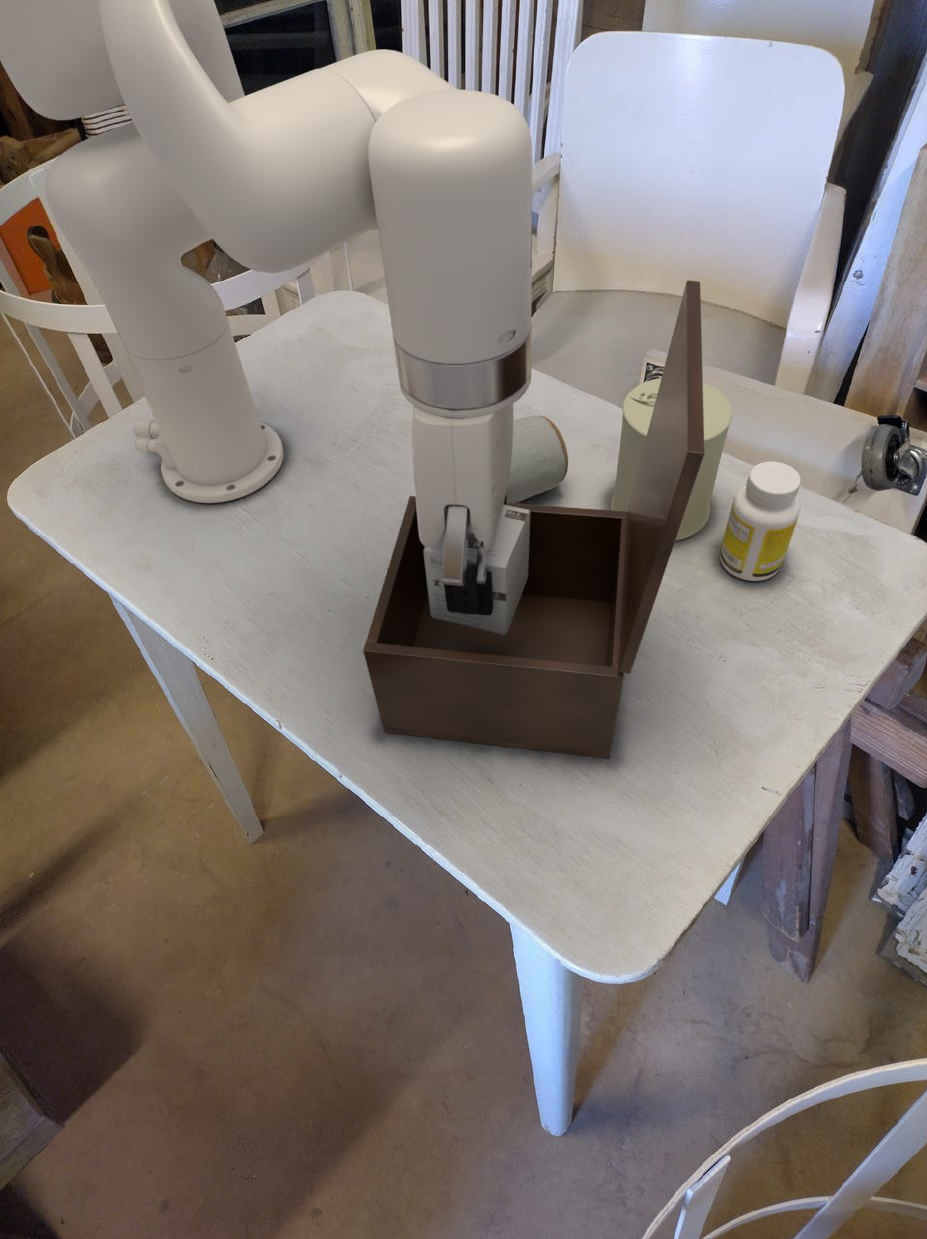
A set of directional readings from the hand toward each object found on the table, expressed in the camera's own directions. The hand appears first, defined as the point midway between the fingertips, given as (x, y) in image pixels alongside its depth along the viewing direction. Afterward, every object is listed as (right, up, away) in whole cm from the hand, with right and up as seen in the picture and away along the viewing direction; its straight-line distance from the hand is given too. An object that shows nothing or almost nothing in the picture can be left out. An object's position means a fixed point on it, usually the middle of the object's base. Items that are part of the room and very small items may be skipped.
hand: (478, 570), depth 59 cm
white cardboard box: (0, -2, +3) cm, 3 cm away
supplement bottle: (+25, +2, +14) cm, 28 cm away
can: (+18, +7, +19) cm, 27 cm away
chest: (+3, -7, +9) cm, 11 cm away
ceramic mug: (+3, +10, +23) cm, 25 cm away
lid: (+10, +5, -9) cm, 14 cm away
